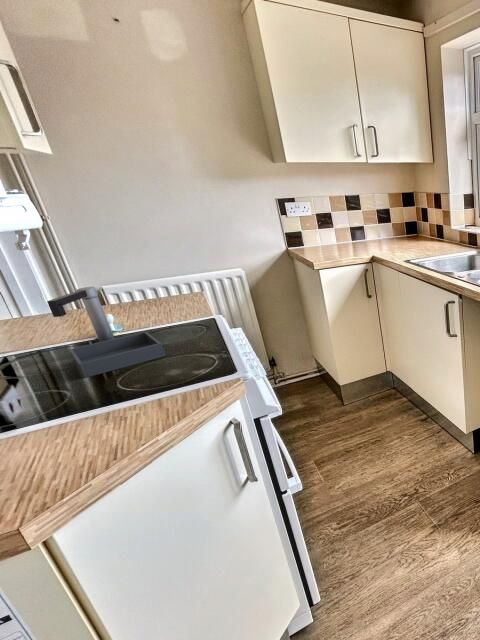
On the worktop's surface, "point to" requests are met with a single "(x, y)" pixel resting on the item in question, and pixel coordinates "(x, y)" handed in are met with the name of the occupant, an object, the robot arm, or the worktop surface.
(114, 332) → the pacifier
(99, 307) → the faucet column
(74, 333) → the worktop surface
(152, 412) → the worktop surface
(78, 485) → the worktop surface
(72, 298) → the spout
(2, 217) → the robot arm
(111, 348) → the sink
